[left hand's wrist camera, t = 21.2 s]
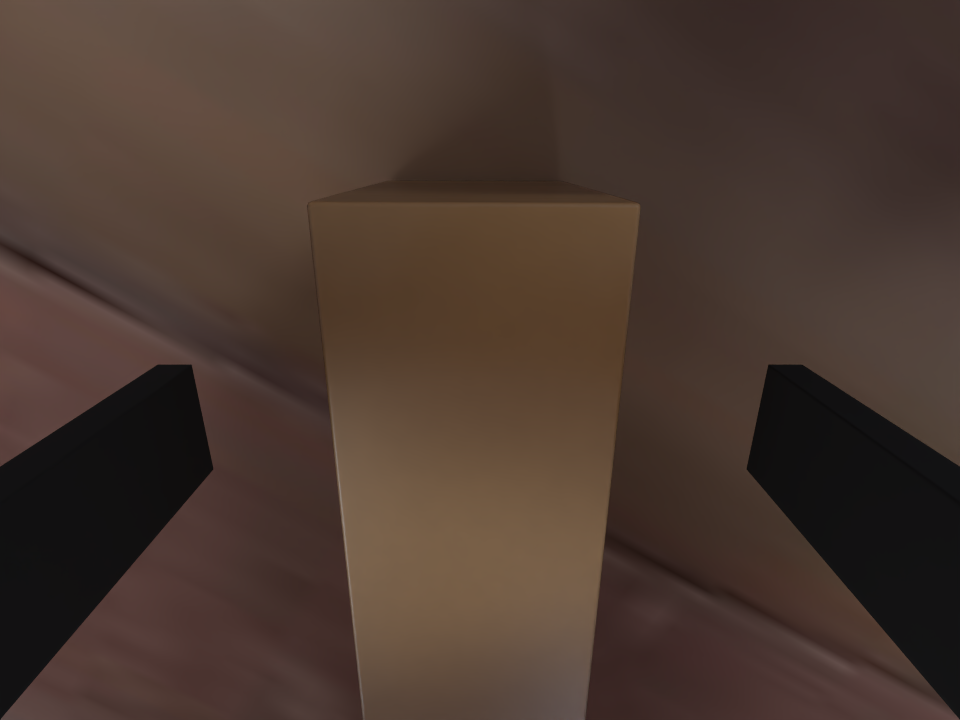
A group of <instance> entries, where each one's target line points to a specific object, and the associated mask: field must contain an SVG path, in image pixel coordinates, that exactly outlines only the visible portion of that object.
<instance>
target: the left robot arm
mask: <svg viewBox="0 0 960 720" xmlns="http://www.w3.org/2000/svg"><path fill="white" fill-rule="evenodd" d="M212 470H213V465H212V460H211V455H210V451H209V446H208V441H207V436H206V432H205V427H204V422H203V417H202V412H201V408H200V403H199V398H198V393H197V388H196V384H195V379H194V374H193V369H192V365H157V366H155V367H154V368H152V369H150V370H149V371H147V372H146V373H144V374H143V375H141V376H140V377H138V378H137V379H135V380H133V381H132V382H130V383H129V384H127V385H126V386H124V387H123V388H121V389H120V390H118V391H116V392H115V393H113V394H112V395H110V396H109V397H107V398H106V399H104V400H103V401H101V402H99V403H98V404H96V405H95V406H93V407H92V408H90V409H89V410H87V411H86V412H84V413H82V414H81V415H79V416H78V417H76V418H75V419H73V420H72V421H70V422H69V423H67V424H65V425H64V426H62V427H61V428H59V429H58V430H56V431H55V432H53V433H52V434H50V435H48V436H47V437H45V438H44V439H42V440H41V441H39V442H38V443H36V444H35V445H33V446H31V447H30V448H28V449H27V450H25V451H24V452H22V453H21V454H19V455H18V456H16V457H14V458H13V459H11V460H10V461H8V462H7V463H5V464H4V465H2V466H1V467H0V719H1V718H2V717H3V715H4V714H5V713H6V712H7V711H8V710H9V708H10V707H11V706H12V705H13V704H14V703H15V701H16V700H17V699H18V698H19V697H20V696H21V694H22V693H23V692H24V691H25V690H26V688H27V687H28V686H29V685H30V684H31V683H32V681H33V680H34V679H35V678H36V677H37V676H38V674H39V673H40V672H41V671H42V670H43V669H44V667H45V666H46V665H47V664H48V663H49V661H50V660H51V659H52V658H53V657H54V656H55V654H56V653H57V652H58V651H59V650H60V649H61V647H62V646H63V645H64V644H65V643H66V642H67V640H68V639H69V638H70V637H71V636H72V634H73V633H74V632H75V631H76V630H77V629H78V627H79V626H80V625H81V624H82V623H83V622H84V620H85V619H86V618H87V617H88V616H89V615H90V613H91V612H92V611H93V610H94V609H95V607H96V606H97V605H98V604H99V603H100V602H101V600H102V599H103V598H104V597H105V596H106V595H107V593H108V592H109V591H110V590H111V589H112V588H113V586H114V585H115V584H116V583H117V582H118V580H119V579H120V578H121V577H122V576H123V575H124V573H125V572H126V571H127V570H128V569H129V568H130V566H131V565H132V564H133V563H134V562H135V561H136V559H137V558H138V557H139V556H140V555H141V554H142V552H143V551H144V550H145V549H146V548H147V546H148V545H149V544H150V543H151V542H152V541H153V539H154V538H155V537H156V536H157V535H158V534H159V532H160V531H161V530H162V529H163V528H164V527H165V525H166V524H167V523H168V522H169V521H170V519H171V518H172V517H173V516H174V515H175V514H176V512H177V511H178V510H179V509H180V508H181V507H182V505H183V504H184V503H185V502H186V501H187V500H188V498H189V497H190V496H191V495H192V494H193V492H194V491H195V490H196V489H197V488H198V487H199V485H200V484H201V483H202V482H203V481H204V480H205V478H206V477H207V476H208V475H209V474H210V473H211V471H212ZM747 470H748V471H749V473H750V474H751V475H752V476H753V477H754V478H755V480H756V481H757V482H758V483H759V484H760V485H761V487H762V488H763V489H764V490H765V491H766V492H767V494H768V495H769V496H770V497H771V498H772V500H773V501H774V502H775V503H776V504H777V505H778V507H779V508H780V509H781V510H782V511H783V512H784V514H785V515H786V516H787V517H788V518H789V519H790V521H791V522H792V523H793V524H794V525H795V527H796V528H797V529H798V530H799V531H800V532H801V534H802V535H803V536H804V537H805V538H806V539H807V541H808V542H809V543H810V544H811V545H812V546H813V548H814V549H815V550H816V551H817V552H818V553H819V555H820V556H821V557H822V558H823V559H824V561H825V562H826V563H827V564H828V565H829V566H830V568H831V569H832V570H833V571H834V572H835V573H836V575H837V576H838V577H839V578H840V579H841V580H842V582H843V583H844V584H845V585H846V586H847V588H848V589H849V590H850V591H851V592H852V593H853V595H854V596H855V597H856V598H857V599H858V600H859V602H860V603H861V604H862V605H863V606H864V607H865V609H866V610H867V611H868V612H869V613H870V615H871V616H872V617H873V618H874V619H875V620H876V622H877V623H878V624H879V625H880V626H881V627H882V629H883V630H884V631H885V632H886V633H887V634H888V636H889V637H890V638H891V639H892V640H893V642H894V643H895V644H896V645H897V646H898V647H899V649H900V650H901V651H902V652H903V653H904V654H905V656H906V657H907V658H908V659H909V660H910V661H911V663H912V664H913V665H914V666H915V667H916V669H917V670H918V671H919V672H920V673H921V674H922V676H923V677H924V678H925V679H926V680H927V681H928V683H929V684H930V685H931V686H932V687H933V688H934V690H935V691H936V692H937V693H938V694H939V696H940V697H941V698H942V699H943V700H944V701H945V703H946V704H947V705H948V706H949V707H950V708H951V710H952V711H953V712H954V713H955V714H956V715H957V717H958V718H959V719H960V467H959V466H958V465H956V464H955V463H953V462H952V461H950V460H949V459H947V458H946V457H944V456H942V455H941V454H939V453H938V452H936V451H935V450H933V449H932V448H930V447H929V446H927V445H925V444H924V443H922V442H921V441H919V440H918V439H916V438H915V437H913V436H912V435H910V434H908V433H907V432H905V431H904V430H902V429H901V428H899V427H898V426H896V425H895V424H893V423H891V422H890V421H888V420H887V419H885V418H884V417H882V416H881V415H879V414H878V413H876V412H874V411H873V410H871V409H870V408H868V407H867V406H865V405H864V404H862V403H861V402H859V401H857V400H856V399H854V398H853V397H851V396H850V395H848V394H847V393H845V392H844V391H842V390H840V389H839V388H837V387H836V386H834V385H833V384H831V383H830V382H828V381H827V380H825V379H823V378H822V377H820V376H819V375H817V374H816V373H814V372H813V371H811V370H810V369H808V368H806V367H805V366H803V365H768V369H767V374H766V379H765V384H764V388H763V393H762V398H761V403H760V408H759V412H758V417H757V422H756V427H755V432H754V436H753V441H752V446H751V451H750V455H749V460H748V465H747Z"/></svg>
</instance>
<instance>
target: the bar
mask: <svg viewBox="0 0 960 720" xmlns="http://www.w3.org/2000/svg"><path fill="white" fill-rule="evenodd" d="M307 210H308V219H309V228H310V237H311V247H312V256H313V265H314V274H315V283H316V293H317V302H318V311H319V320H320V330H321V339H322V348H323V357H324V366H325V376H326V385H327V394H328V403H329V413H330V422H331V431H332V440H333V449H334V459H335V468H336V477H337V486H338V496H339V505H340V514H341V523H342V532H343V542H344V551H345V560H346V569H347V579H348V588H349V597H350V606H351V615H352V625H353V634H354V643H355V652H356V662H357V671H358V680H359V689H360V698H361V708H362V717H363V720H586V711H587V701H588V692H589V683H590V674H591V664H592V655H593V646H594V637H595V627H596V618H597V609H598V599H599V590H600V581H601V572H602V562H603V553H604V544H605V534H606V525H607V516H608V507H609V497H610V488H611V479H612V470H613V460H614V451H615V442H616V432H617V423H618V414H619V405H620V395H621V386H622V377H623V367H624V358H625V349H626V340H627V330H628V321H629V312H630V302H631V293H632V284H633V275H634V265H635V256H636V247H637V238H638V228H639V219H640V210H641V207H640V204H639V203H636V202H633V201H630V200H626V199H623V198H619V197H616V196H612V195H609V194H605V193H602V192H598V191H595V190H591V189H588V188H584V187H581V186H577V185H574V184H570V183H567V182H563V181H385V182H381V183H378V184H374V185H370V186H366V187H363V188H359V189H355V190H352V191H348V192H344V193H341V194H337V195H333V196H329V197H326V198H322V199H318V200H315V201H311V202H309V203H308V206H307Z"/></svg>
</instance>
